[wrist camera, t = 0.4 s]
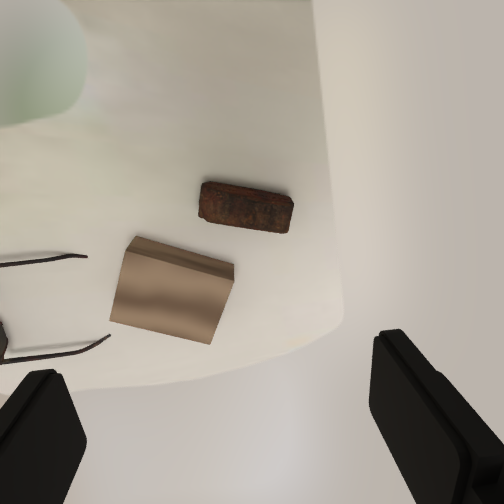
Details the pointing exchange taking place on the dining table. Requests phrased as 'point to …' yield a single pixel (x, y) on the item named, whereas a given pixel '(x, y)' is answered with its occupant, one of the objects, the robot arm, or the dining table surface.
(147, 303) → the beige box
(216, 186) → the brick
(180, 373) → the dining table surface
